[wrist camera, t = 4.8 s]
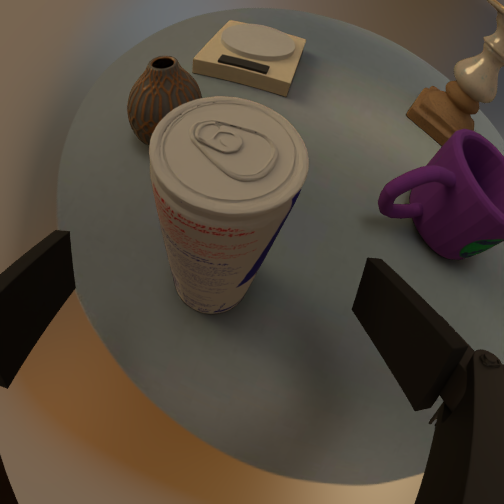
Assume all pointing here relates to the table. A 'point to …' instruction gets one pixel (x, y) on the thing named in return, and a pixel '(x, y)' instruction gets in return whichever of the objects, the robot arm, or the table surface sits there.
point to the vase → (159, 95)
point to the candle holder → (462, 89)
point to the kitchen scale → (251, 56)
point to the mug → (454, 197)
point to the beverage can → (223, 193)
